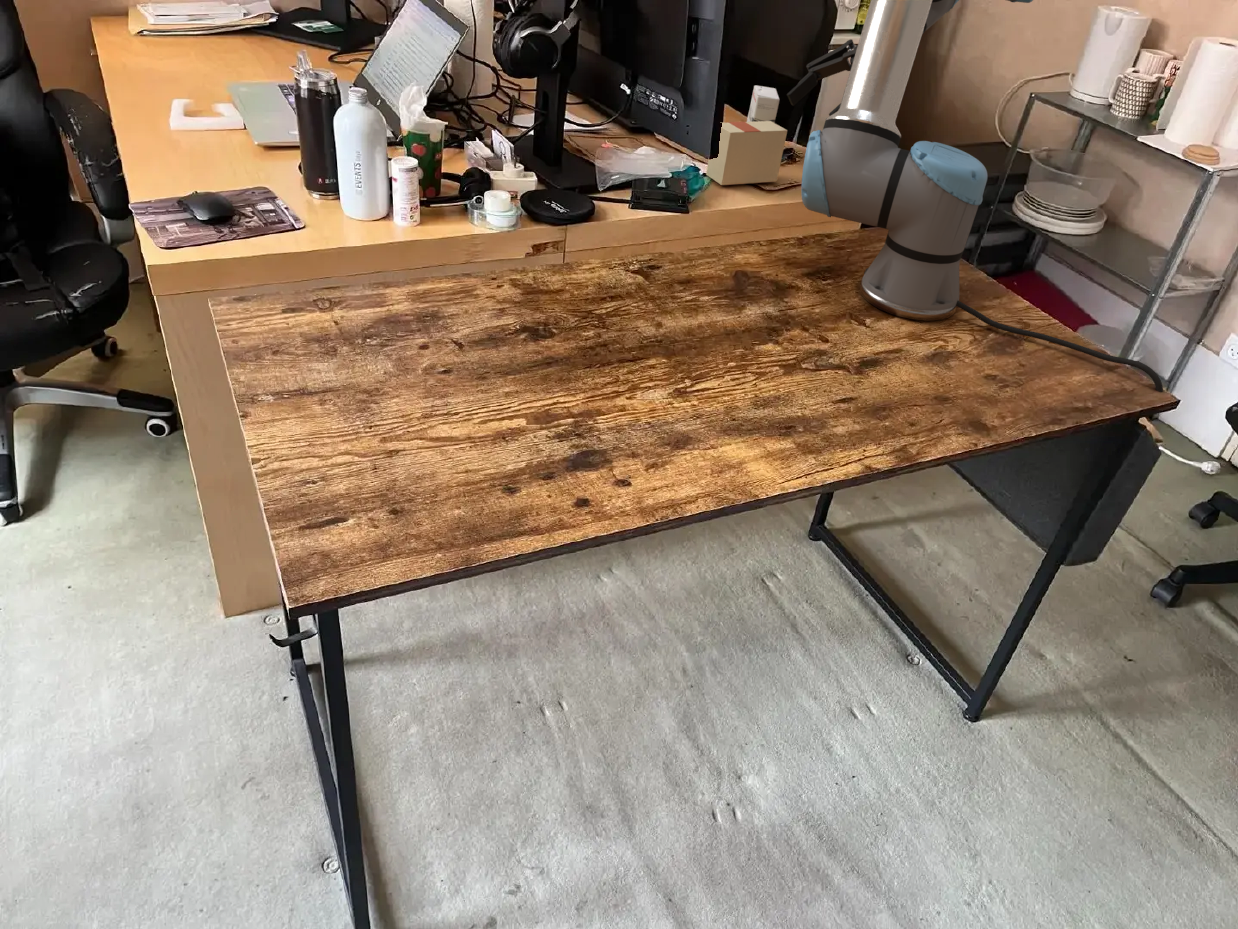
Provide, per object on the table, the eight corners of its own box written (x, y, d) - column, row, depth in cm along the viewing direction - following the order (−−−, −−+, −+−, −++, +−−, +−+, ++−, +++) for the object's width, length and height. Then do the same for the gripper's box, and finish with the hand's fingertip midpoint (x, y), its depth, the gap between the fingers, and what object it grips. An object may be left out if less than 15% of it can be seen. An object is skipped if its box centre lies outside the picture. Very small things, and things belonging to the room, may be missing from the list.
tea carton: (760, 171, 184) (770, 120, 178) (776, 181, 180) (787, 129, 174) (706, 174, 178) (714, 122, 173) (721, 185, 174) (730, 132, 168)
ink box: (768, 155, 193) (780, 98, 186) (745, 152, 193) (757, 95, 186) (764, 142, 200) (776, 86, 193) (742, 139, 200) (753, 83, 193)
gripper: (942, 66, 170) (857, 143, 171) (857, 36, 187) (780, 106, 188) (932, 33, 164) (844, 113, 165) (846, 5, 181) (767, 77, 182)
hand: (810, 109), depth 177 cm, fingers open, 13 cm apart
